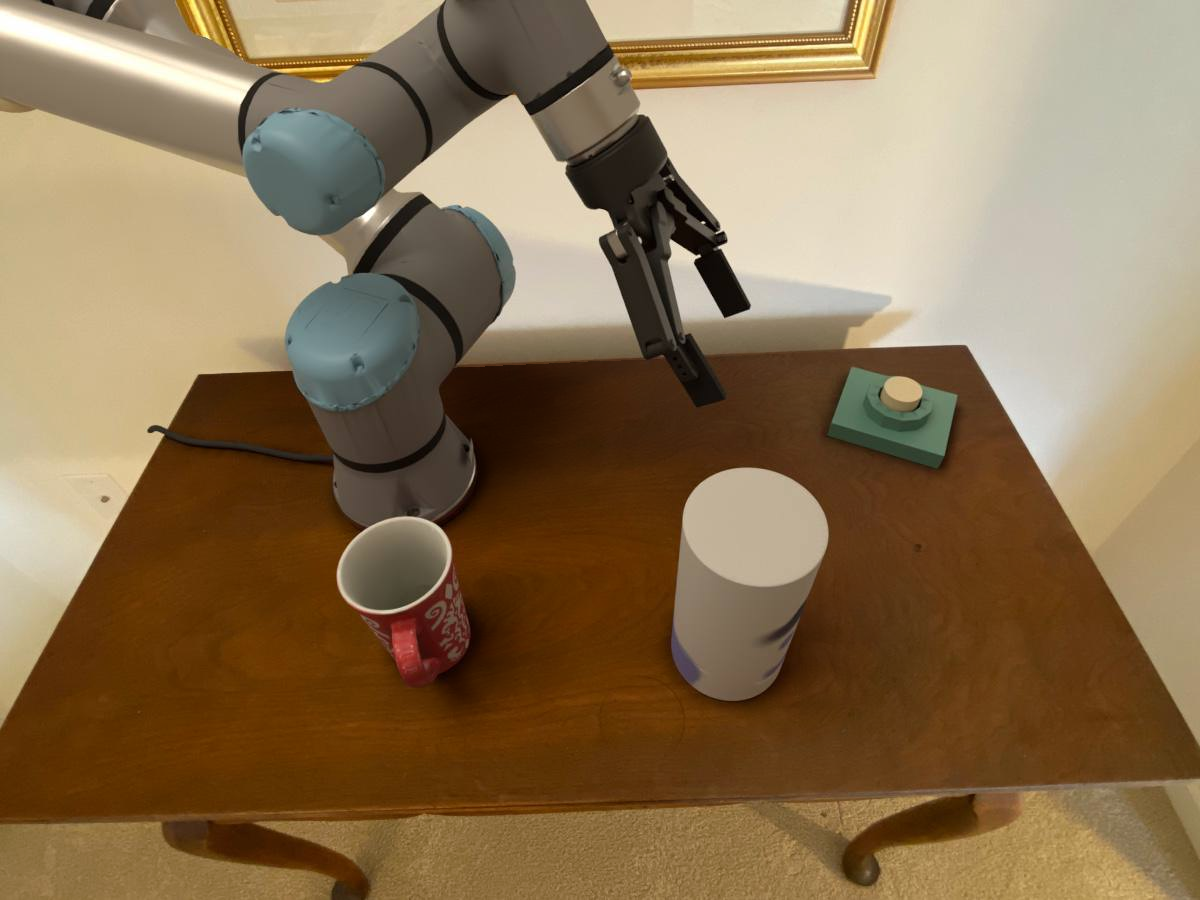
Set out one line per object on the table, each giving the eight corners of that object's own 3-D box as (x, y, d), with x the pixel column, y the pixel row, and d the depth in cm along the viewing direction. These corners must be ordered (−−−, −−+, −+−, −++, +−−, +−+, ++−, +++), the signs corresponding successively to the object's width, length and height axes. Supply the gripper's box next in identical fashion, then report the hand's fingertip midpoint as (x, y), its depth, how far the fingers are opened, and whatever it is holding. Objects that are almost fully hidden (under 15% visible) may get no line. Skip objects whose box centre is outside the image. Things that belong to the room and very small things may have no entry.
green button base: (827, 435, 81) (834, 411, 78) (847, 379, 86) (855, 354, 83) (937, 469, 77) (950, 445, 74) (951, 408, 83) (963, 383, 80)
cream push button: (876, 406, 78) (880, 395, 77) (884, 383, 81) (888, 372, 79) (914, 417, 77) (919, 406, 76) (920, 393, 80) (925, 382, 78)
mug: (381, 605, 68) (337, 526, 58) (475, 587, 69) (448, 506, 59) (382, 736, 60) (331, 671, 50) (488, 713, 61) (459, 645, 51)
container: (780, 711, 61) (829, 596, 45) (663, 690, 62) (673, 571, 47) (784, 607, 67) (829, 475, 52) (678, 590, 68) (691, 457, 53)
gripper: (592, 189, 43) (742, 436, 54) (680, 61, 60) (781, 268, 70) (503, 236, 48) (657, 456, 58) (608, 104, 64) (713, 293, 75)
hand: (725, 353), depth 64 cm, fingers open, 13 cm apart
